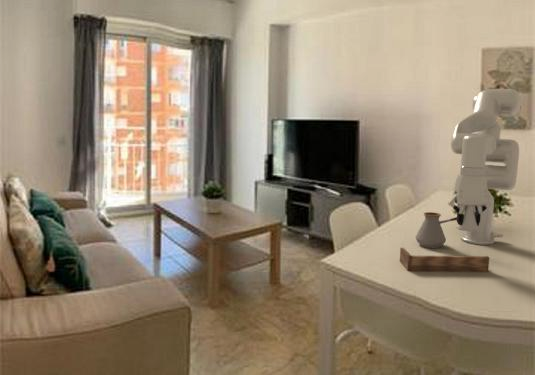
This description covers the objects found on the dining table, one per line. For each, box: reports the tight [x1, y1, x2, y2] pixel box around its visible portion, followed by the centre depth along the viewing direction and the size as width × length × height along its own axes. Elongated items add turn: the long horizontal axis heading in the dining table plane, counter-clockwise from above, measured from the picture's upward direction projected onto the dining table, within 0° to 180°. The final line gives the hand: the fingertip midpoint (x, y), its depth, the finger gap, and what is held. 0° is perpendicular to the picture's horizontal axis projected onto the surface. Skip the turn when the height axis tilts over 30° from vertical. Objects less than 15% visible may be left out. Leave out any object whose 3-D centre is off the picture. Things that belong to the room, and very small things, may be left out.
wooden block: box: [399, 247, 490, 273], centre depth 163 cm, size 27×10×5 cm, turn 90°
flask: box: [456, 206, 479, 232], centre depth 161 cm, size 7×7×10 cm
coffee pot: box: [415, 211, 457, 249], centre depth 183 cm, size 21×12×15 cm, turn 54°
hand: (467, 224), depth 161 cm, fingers closed on flask, 4 cm apart
